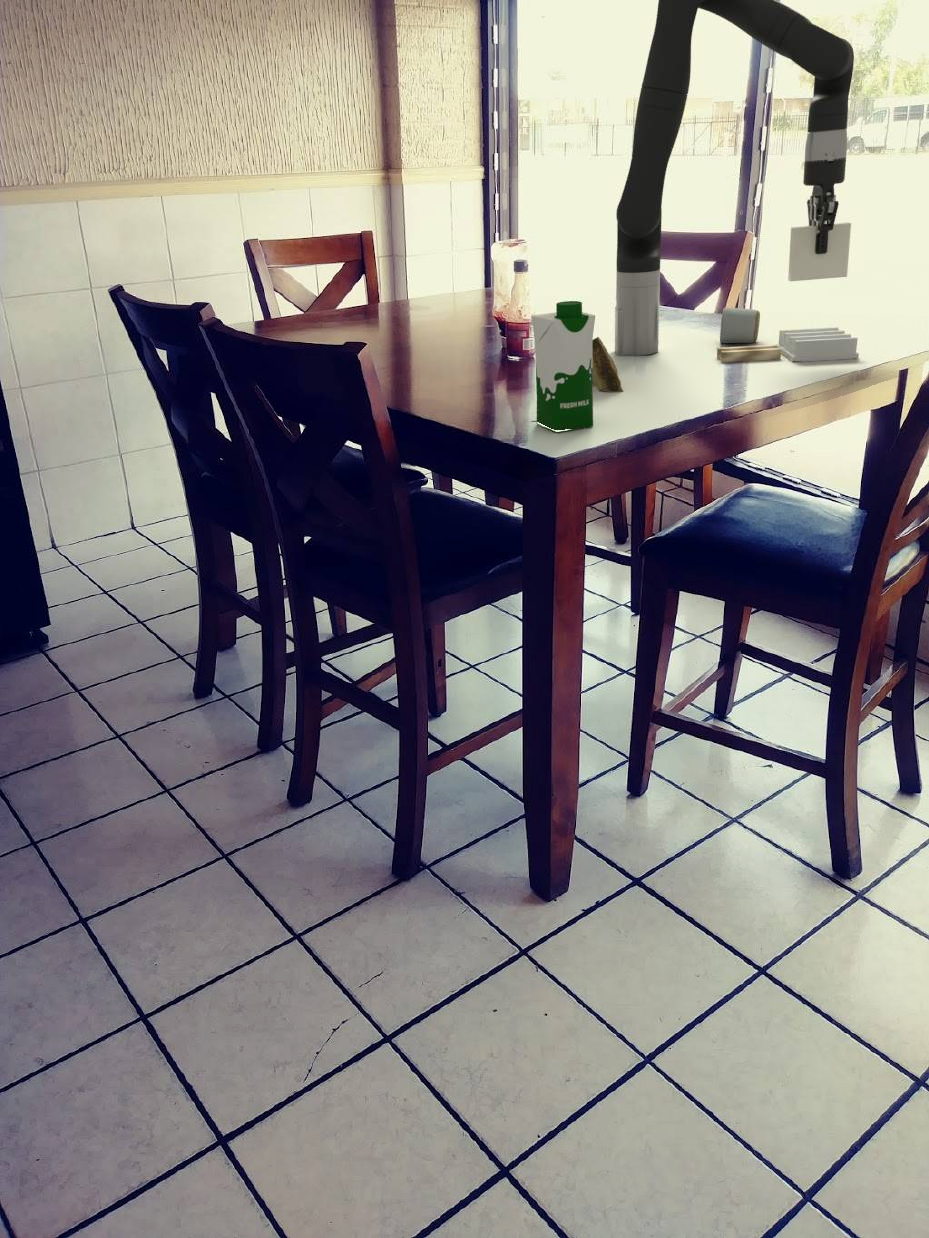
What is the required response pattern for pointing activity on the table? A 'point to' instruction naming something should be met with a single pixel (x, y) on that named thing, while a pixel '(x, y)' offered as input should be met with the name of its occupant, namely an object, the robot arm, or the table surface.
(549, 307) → the table surface
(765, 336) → the table surface
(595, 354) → the rock
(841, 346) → the rack
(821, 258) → the plate
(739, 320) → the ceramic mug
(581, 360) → the milk carton
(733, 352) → the stand
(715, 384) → the table surface
